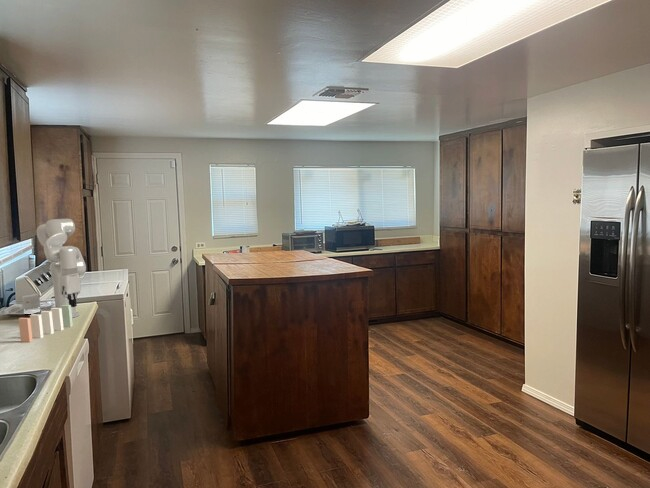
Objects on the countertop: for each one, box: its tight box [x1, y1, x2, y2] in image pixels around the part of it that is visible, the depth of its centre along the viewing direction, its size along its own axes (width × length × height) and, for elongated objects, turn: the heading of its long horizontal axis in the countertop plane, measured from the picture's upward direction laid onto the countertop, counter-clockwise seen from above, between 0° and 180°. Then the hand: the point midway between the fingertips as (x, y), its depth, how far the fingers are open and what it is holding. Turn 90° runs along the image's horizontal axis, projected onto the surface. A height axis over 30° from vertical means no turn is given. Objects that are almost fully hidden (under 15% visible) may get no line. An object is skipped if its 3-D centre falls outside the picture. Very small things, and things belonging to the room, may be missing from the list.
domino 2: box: [29, 313, 44, 339], centre depth 228 cm, size 2×5×11 cm, turn 76°
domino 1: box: [18, 317, 34, 343], centre depth 222 cm, size 2×5×11 cm, turn 75°
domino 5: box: [60, 305, 74, 328], centre depth 246 cm, size 2×5×11 cm, turn 76°
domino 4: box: [50, 307, 65, 332], centre depth 240 cm, size 2×5×11 cm, turn 76°
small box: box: [20, 293, 41, 310], centre depth 278 cm, size 8×6×10 cm
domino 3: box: [40, 310, 55, 335], centre depth 234 cm, size 2×5×11 cm, turn 76°
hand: (73, 306), depth 250 cm, fingers closed
